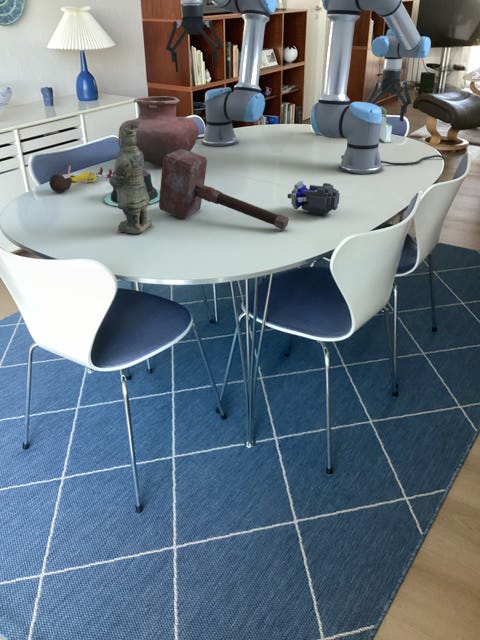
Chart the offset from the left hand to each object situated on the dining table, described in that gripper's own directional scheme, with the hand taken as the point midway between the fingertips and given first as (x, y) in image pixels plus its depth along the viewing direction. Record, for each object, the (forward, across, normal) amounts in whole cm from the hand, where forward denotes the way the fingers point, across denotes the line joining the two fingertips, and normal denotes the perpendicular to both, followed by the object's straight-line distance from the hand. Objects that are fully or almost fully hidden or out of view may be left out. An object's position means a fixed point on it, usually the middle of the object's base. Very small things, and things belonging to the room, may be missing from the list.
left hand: (195, 71), depth 204 cm
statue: (+34, +20, +68) cm, 79 cm away
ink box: (+34, -83, -31) cm, 95 cm away
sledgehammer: (+34, -6, +64) cm, 73 cm away
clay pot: (+34, +16, -4) cm, 38 cm away
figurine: (+34, +43, +21) cm, 59 cm away
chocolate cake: (+34, +23, +38) cm, 56 cm away
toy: (+34, -34, +61) cm, 77 cm away
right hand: (+26, -84, -31) cm, 93 cm away
